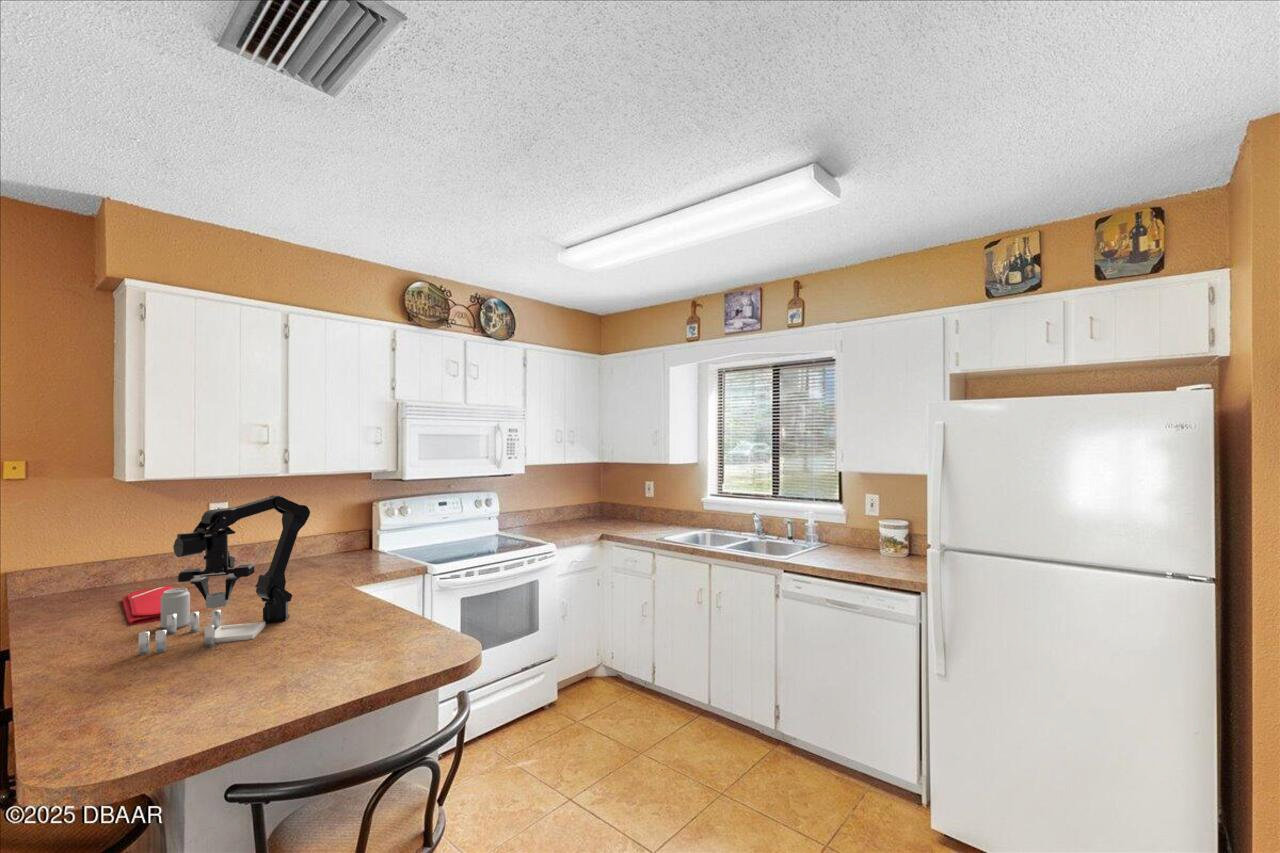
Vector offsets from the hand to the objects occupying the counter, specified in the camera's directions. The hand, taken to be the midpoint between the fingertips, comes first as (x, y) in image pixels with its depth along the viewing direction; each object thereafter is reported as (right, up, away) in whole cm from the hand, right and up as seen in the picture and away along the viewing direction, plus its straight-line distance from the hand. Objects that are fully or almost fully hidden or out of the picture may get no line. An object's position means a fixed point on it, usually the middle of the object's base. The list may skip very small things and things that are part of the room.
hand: (217, 600), depth 180 cm
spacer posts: (-6, -11, -3) cm, 13 cm away
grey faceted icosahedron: (0, -2, 0) cm, 2 cm away
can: (-21, -12, +10) cm, 26 cm away
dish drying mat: (-46, -13, +31) cm, 57 cm away
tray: (+5, -11, +1) cm, 12 cm away
